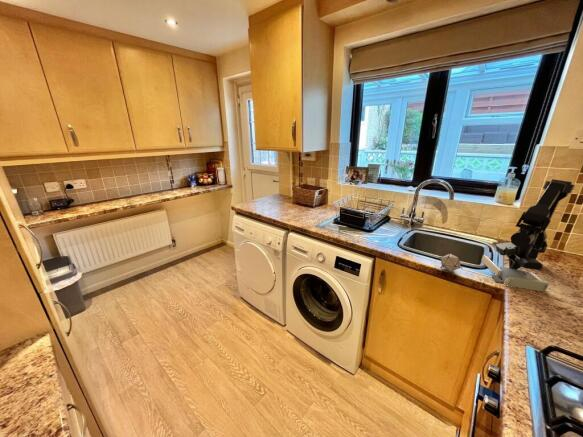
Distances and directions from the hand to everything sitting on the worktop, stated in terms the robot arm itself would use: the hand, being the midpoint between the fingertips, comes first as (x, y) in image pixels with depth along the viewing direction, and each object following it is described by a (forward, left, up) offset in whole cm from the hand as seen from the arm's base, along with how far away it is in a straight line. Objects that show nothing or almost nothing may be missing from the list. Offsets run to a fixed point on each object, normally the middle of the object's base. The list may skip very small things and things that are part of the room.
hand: (511, 271), depth 104 cm
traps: (+2, 0, -2) cm, 3 cm away
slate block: (+5, -2, -2) cm, 6 cm away
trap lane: (0, 0, -2) cm, 2 cm away
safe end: (+10, 0, -1) cm, 10 cm away
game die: (+3, -26, -2) cm, 26 cm away
